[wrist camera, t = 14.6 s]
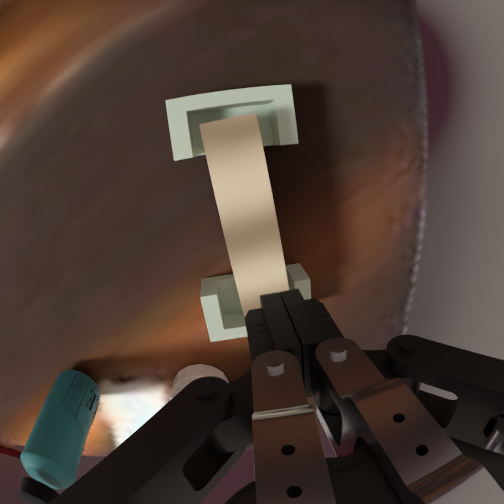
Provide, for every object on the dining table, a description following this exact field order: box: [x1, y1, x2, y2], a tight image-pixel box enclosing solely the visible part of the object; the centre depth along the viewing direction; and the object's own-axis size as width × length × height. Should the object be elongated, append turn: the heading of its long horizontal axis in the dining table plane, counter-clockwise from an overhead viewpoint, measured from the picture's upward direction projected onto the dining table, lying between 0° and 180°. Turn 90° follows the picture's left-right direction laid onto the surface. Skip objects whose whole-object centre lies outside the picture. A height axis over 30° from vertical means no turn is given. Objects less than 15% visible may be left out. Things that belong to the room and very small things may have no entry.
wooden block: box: [199, 113, 289, 318], centre depth 26 cm, size 17×4×6 cm, turn 11°
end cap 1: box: [166, 84, 298, 161], centre depth 25 cm, size 5×10×4 cm, turn 97°
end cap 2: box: [200, 263, 311, 342], centre depth 31 cm, size 5×10×4 cm, turn 97°
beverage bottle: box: [20, 370, 100, 504], centre depth 25 cm, size 6×7×20 cm
